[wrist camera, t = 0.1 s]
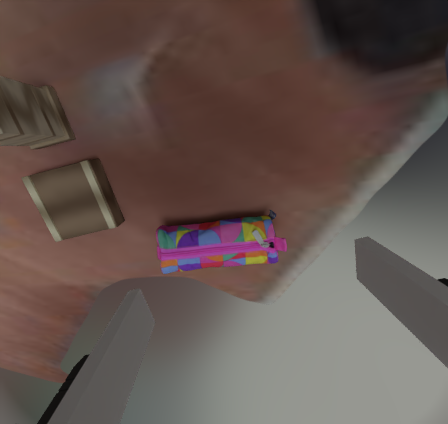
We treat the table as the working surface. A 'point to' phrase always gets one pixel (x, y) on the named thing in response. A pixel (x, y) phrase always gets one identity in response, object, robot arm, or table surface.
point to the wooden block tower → (31, 116)
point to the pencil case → (219, 244)
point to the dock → (75, 199)
